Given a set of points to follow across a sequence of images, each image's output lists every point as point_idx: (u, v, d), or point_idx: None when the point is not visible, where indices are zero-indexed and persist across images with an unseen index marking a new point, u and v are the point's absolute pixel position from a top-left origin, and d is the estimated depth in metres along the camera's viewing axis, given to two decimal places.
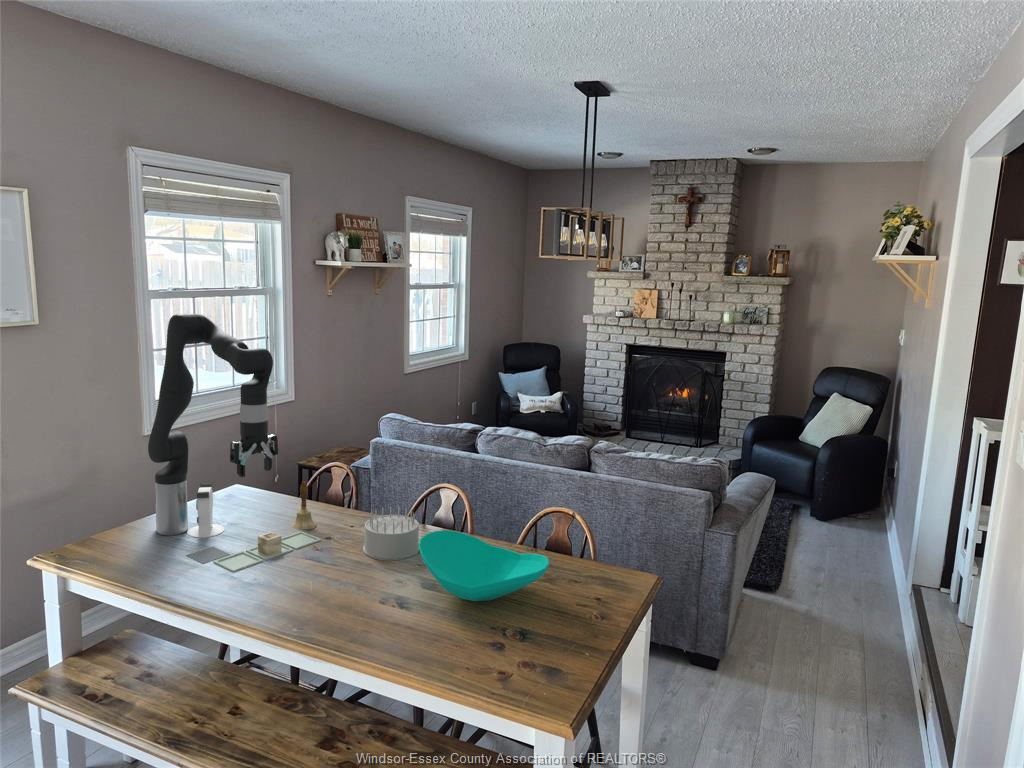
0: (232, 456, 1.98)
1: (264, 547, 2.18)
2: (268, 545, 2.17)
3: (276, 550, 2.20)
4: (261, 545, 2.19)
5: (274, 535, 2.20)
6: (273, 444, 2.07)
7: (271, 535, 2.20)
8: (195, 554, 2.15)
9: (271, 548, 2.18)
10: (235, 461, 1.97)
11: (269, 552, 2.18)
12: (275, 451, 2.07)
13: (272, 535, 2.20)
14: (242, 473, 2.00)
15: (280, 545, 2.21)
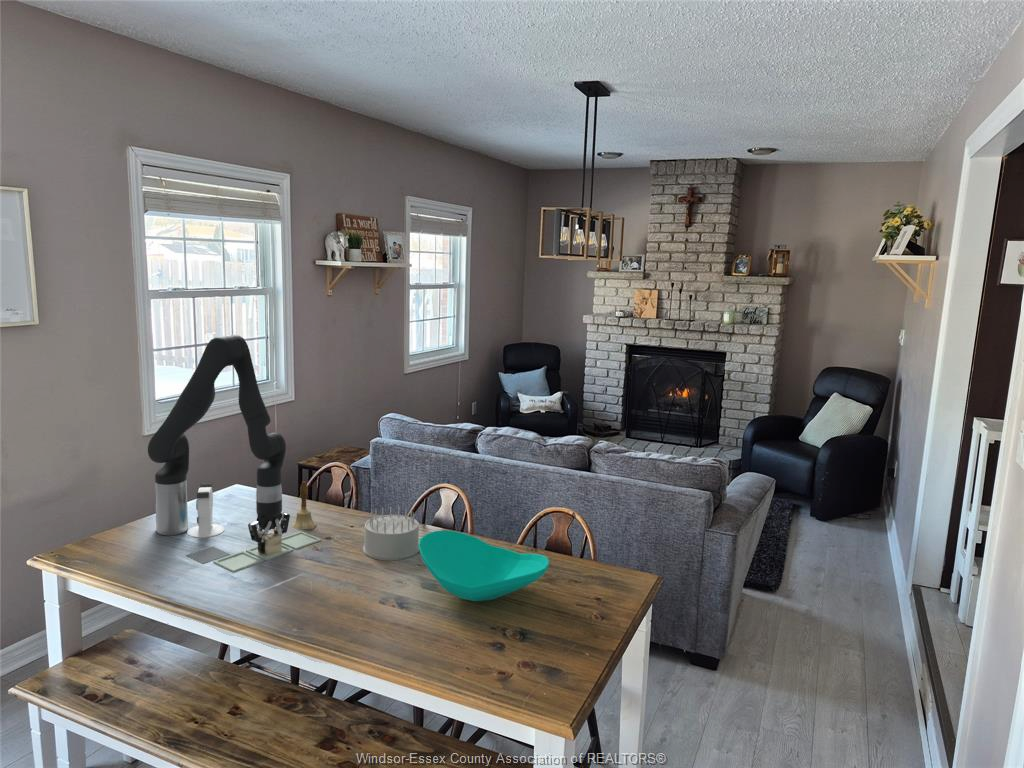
0: (252, 535, 2.16)
1: None
2: (268, 545, 2.17)
3: (276, 550, 2.20)
4: None
5: (274, 535, 2.20)
6: (285, 522, 2.23)
7: (271, 535, 2.20)
8: (195, 554, 2.15)
9: (271, 548, 2.18)
10: (256, 540, 2.15)
11: (269, 552, 2.18)
12: (284, 529, 2.23)
13: (272, 535, 2.20)
14: (262, 550, 2.17)
15: (280, 545, 2.21)
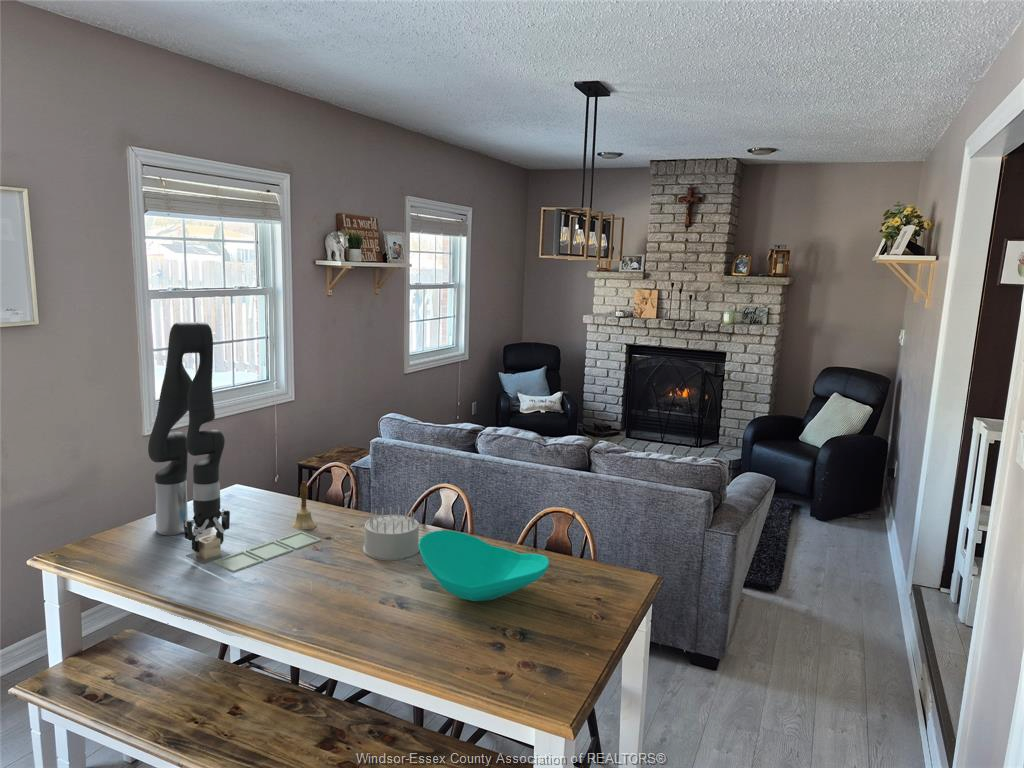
0: (186, 533, 2.10)
1: (201, 551, 2.13)
2: (205, 549, 2.12)
3: (215, 554, 2.15)
4: None
5: (213, 538, 2.15)
6: (225, 519, 2.18)
7: (210, 538, 2.15)
8: (195, 554, 2.15)
9: (209, 551, 2.13)
10: (189, 538, 2.08)
11: (207, 556, 2.12)
12: (226, 526, 2.18)
13: (211, 538, 2.15)
14: (196, 549, 2.11)
15: (219, 549, 2.16)
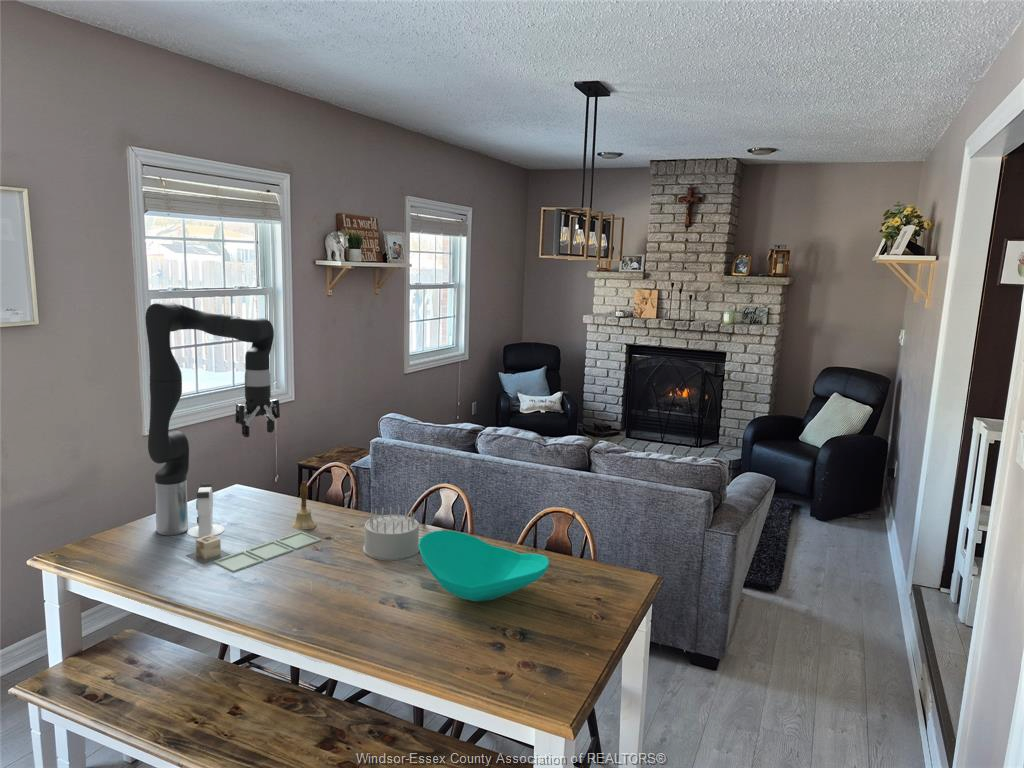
0: (237, 417, 2.15)
1: (201, 551, 2.13)
2: (205, 549, 2.12)
3: (215, 554, 2.15)
4: (199, 549, 2.14)
5: (213, 538, 2.15)
6: (275, 408, 2.24)
7: (210, 538, 2.15)
8: (195, 554, 2.15)
9: (209, 551, 2.13)
10: (240, 422, 2.14)
11: (207, 556, 2.12)
12: (277, 414, 2.24)
13: (211, 538, 2.15)
14: (246, 434, 2.17)
15: (219, 549, 2.16)
